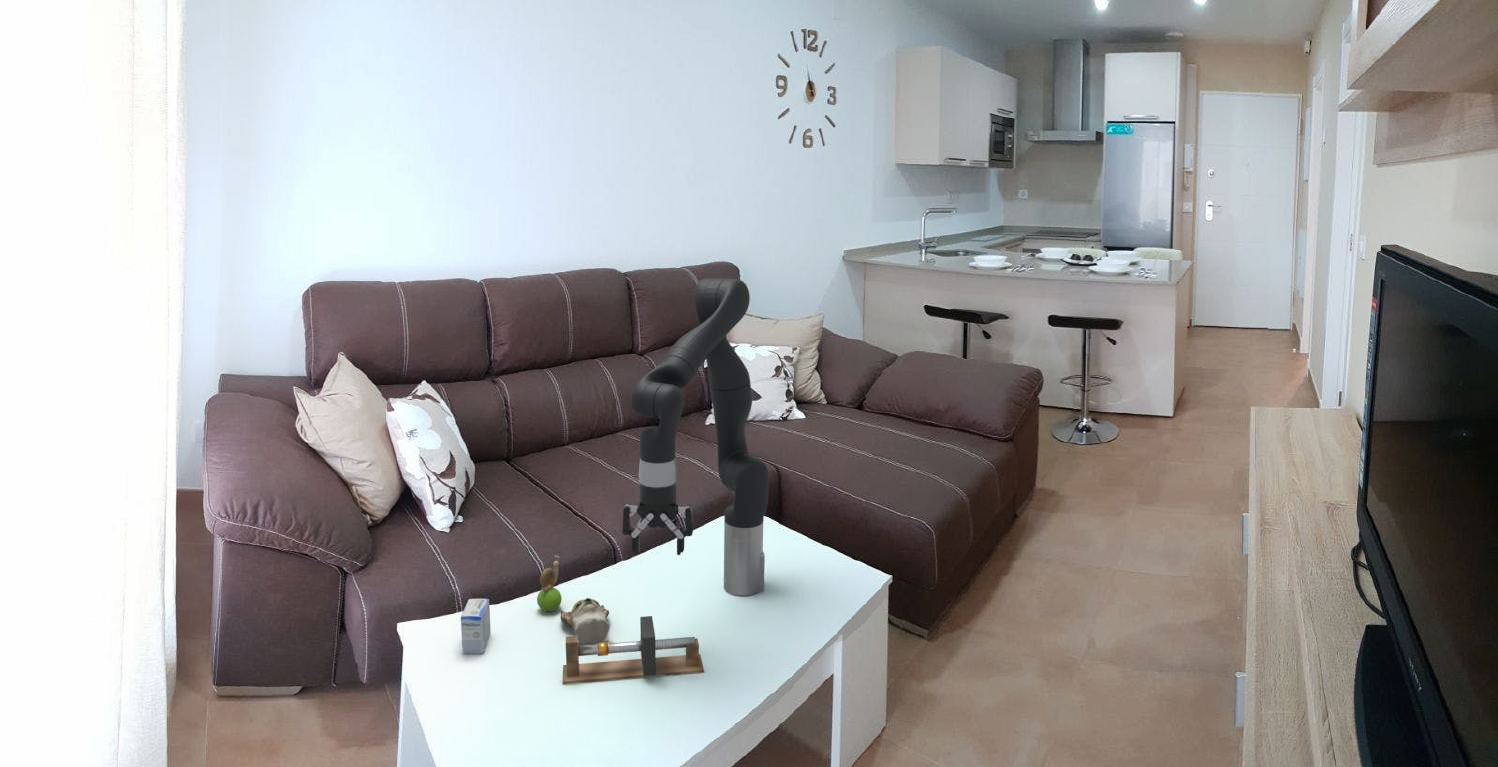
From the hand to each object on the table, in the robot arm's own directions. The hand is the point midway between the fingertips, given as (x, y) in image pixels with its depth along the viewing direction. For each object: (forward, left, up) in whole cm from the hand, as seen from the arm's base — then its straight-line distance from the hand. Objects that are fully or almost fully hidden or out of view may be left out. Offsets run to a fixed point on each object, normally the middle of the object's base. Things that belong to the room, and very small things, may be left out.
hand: (658, 553), depth 193 cm
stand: (+6, +8, -22) cm, 24 cm away
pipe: (+6, +8, -18) cm, 20 cm away
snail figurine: (+23, -20, -22) cm, 37 cm away
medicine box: (+38, -7, -22) cm, 44 cm away
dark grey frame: (+3, +8, -20) cm, 22 cm away
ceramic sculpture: (+15, -8, -22) cm, 28 cm away
